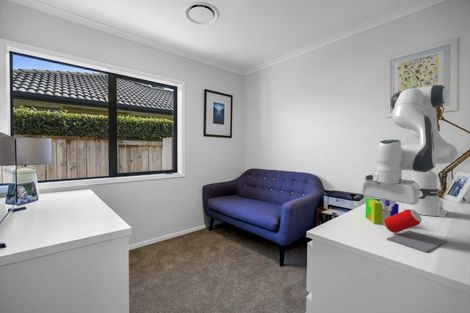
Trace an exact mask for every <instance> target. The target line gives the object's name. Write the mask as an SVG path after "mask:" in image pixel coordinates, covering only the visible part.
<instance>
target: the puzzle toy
mask: <svg viewBox="0 0 470 313" xmlns="http://www.w3.org/2000/svg"><path fill="white" fill-rule="evenodd" d="M385 204H386V206H389V205H390V204H391V203H389V200H386V201H385ZM399 204H400V203H398V202H396V204H395V205H394V206H393V207H392V211H387V210H383V206H382V204H381V202H380V199H379V198H370V197H369V198H365V219H367V220H369V222H370V223H373V224H374V225H384V219H386V218H388V217H390V216H393V215H395V214H397V213H399V210H400V209H399Z"/></svg>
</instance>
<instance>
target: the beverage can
mask: <svg viewBox="0 0 470 313" xmlns="http://www.w3.org/2000/svg"><path fill="white" fill-rule="evenodd" d="M421 222H422V217H421V214H418V213H417V212H416V211H414V210H410V209H407V210H405V209H403V210H402V211H400V212H398V213H397V214H395V215H393V216H390V217H388V218H386V219H384V224H383V225H384V226H385V229H387V230H388V231H389V232H391V233H393V234H397V233H399V232H402V231H405V230H407V229H410V228H413V227H416V226H419V225H420V224H421Z"/></svg>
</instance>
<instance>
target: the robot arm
mask: <svg viewBox="0 0 470 313" xmlns="http://www.w3.org/2000/svg"><path fill="white" fill-rule="evenodd" d="M447 99H448V91H447V89H446V87H445V86H444V85H443V84H433V85H430V86H429V85H428V86H420V87H416V88H414V87H413V88H412V87H410V88H406V89H405V90H402V91H398V92H395V93H394V94H393V95H391V99H390V107H391V109H392V110H393V111H392V116H391V117H392V122H393V123H394V124H395V125H396V126H397V127H400V128H402V129H406V130H410V131H409V132H410V134H411V135H412V136H413V137H414V138H416V139H419V143H408V144H402V141H401V140H399V139H384V140H381V141H379V142H378V144H377V150H376V156H375V157H376V158H375V159H376V169H375V173H370V174H365V175H364V176H363V182H362V183H361V184H362V185H361V194H362V195H363V196H364V197H369V198H372V199H380V202H381V204H382V206H383V210H387V211H392V207H393V206H394V205H395V204H396V203H399V204H400V203H401V204H405V206H402V209H403V210H407V209H410V210H414V211H416V212H417V213H418V214H419V215H420V216H421V215H422V216H429V217H431V216H432V217H441V218H445V217H446V216H447V215H448V213H449V210H446V209H444V208H443V204H444V202H443V201H442V200H441V198H440V197H439V192H440V188H438V175H437V174H436V172H434V171H433V170H434V168H435V167H436V166H437V164H438V165H439V164H451V163H454V162H455V160H456V159H457V158H458V155H459V153H458V152H459V151H458V149H457V147H455V145H453V144H451V143H449V142H447V141H446V140H445V139H444V138H443V137H442V136H441V134H440V132H439V127H438V117H437V109H438V107H441V106H443V105H444V104H445V103H446V101H447ZM403 171H408V172H409V173H410V179H409V180H408V179H404V178H403V179H402V177H403V175H402V174H403ZM386 200H389V203H391V204H390V205H389V206H386V204H385V201H386Z"/></svg>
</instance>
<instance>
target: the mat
mask: <svg viewBox="0 0 470 313" xmlns="http://www.w3.org/2000/svg"><path fill="white" fill-rule="evenodd" d="M386 240H387V241H389V242H390V241H391V242H393V243H395V244H399V245H402V246H405V247H407V248H408V247H409V248H411V249H414V250H416V251H417V250H418V251H419V252H423V253H425V254H427V253H429V252H431V251H433V250H435V249H438V248H439V247H440V246H443V245H445V244H446V243H448V240H446V239H442V238H438V237H435V236H432V235H427V234H423V233H420V232H416V231H412V230H406V231H403V232H401V233H398V234H395V235H393V236H390V237H387V238H386ZM444 243H445V244H444Z"/></svg>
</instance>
